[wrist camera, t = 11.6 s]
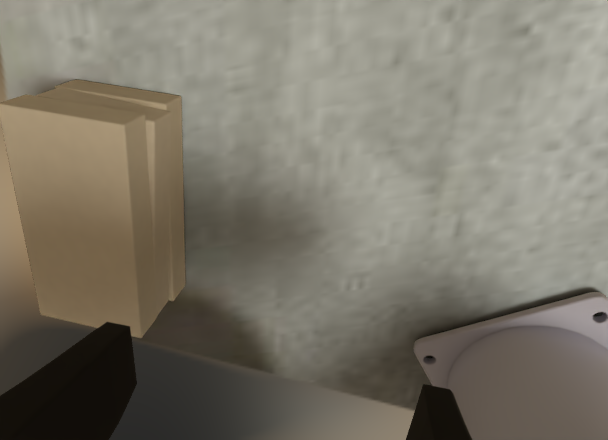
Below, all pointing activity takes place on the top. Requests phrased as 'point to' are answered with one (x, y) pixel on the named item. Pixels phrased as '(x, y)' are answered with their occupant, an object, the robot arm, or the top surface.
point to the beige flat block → (176, 165)
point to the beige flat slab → (84, 209)
